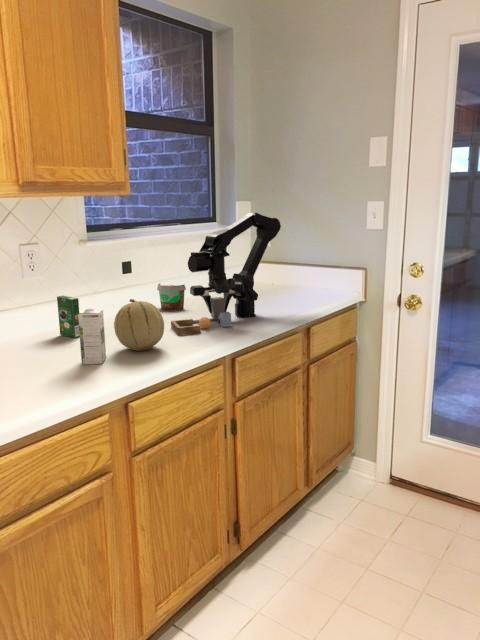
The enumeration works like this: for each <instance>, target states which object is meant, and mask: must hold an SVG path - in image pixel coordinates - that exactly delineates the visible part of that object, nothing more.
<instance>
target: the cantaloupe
mask: <svg viewBox="0 0 480 640" xmlns="http://www.w3.org/2000/svg"><path fill="white" fill-rule="evenodd" d="M129 302H130V303H127V304H125V305H123V306H122V307H120V309H119V310H118V311H117V313H116V315H115V317H114V323H113V328H114V334H115V336H116V339H118V341H119V343H120V344H121V345H122V346H124V347H125V348H127V349H129V350H133V351H139V352H140V351H142V352H145V351H146V350H148V349H151V348H152V347H155V346H156V345H157V344H158V343H159V342H160V341H161V340H162V339H163V335H164V332H165V320H164V317H163V315H162V313H161V311H160V310H159V309H158V308H157V307H156V306H155V305H154V304H153V303H151V302H148V301H144V300H143V301H142V300H141V301H139V300H138V301H137V300H135V299H133V298H130V299H129Z"/></svg>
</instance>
